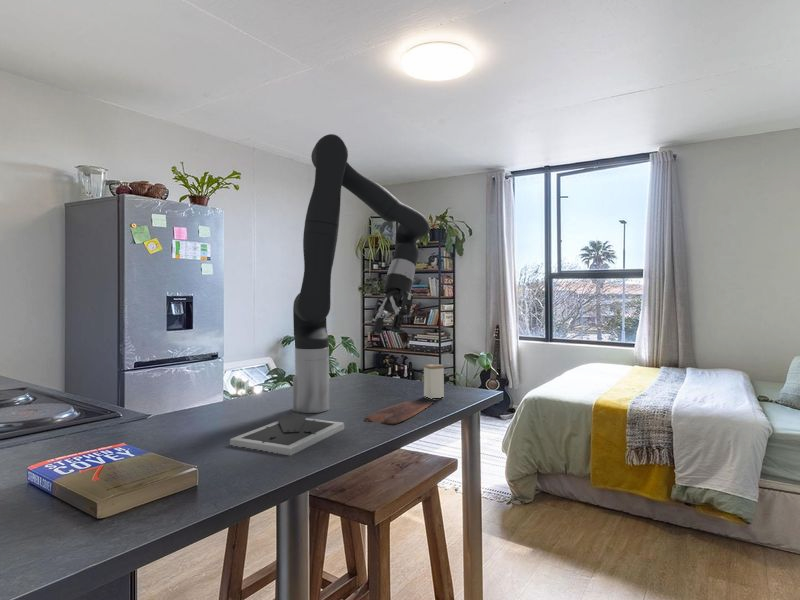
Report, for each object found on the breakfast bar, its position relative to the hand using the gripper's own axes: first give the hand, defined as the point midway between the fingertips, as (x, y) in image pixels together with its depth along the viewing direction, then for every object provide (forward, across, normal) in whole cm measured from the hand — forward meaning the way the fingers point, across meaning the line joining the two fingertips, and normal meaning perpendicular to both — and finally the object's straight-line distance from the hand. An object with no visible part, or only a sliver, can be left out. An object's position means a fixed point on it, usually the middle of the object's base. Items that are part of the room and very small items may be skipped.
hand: (386, 331), depth 132 cm
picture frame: (+34, +1, -18) cm, 38 cm away
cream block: (+10, -8, +28) cm, 31 cm away
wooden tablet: (+19, -1, +13) cm, 23 cm away
